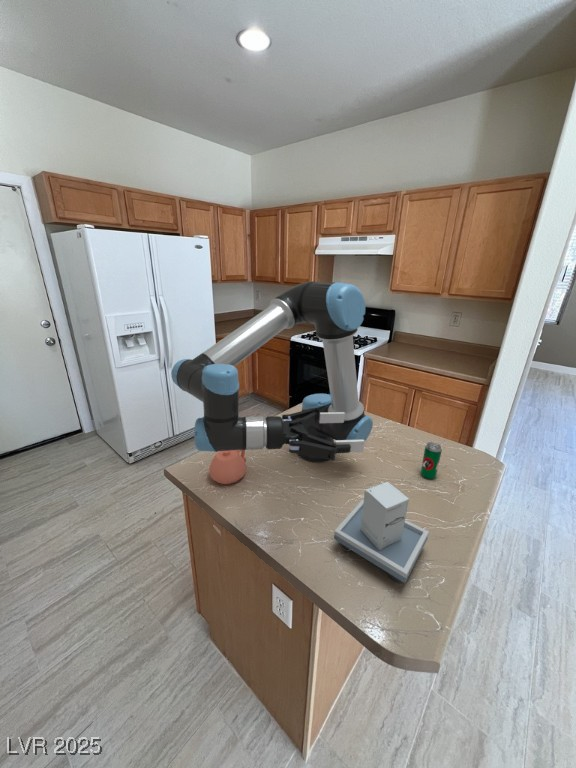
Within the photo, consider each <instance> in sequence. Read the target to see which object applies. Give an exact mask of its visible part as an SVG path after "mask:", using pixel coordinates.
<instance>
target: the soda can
mask: <svg viewBox="0 0 576 768" xmlns="http://www.w3.org/2000/svg"><path fill="white" fill-rule="evenodd" d="M442 452H443V451H442V446H441V444H439V443H438V442H434V441H429V442H427V443H426V444H425V447H424V451H423V457H422V463H421V466H420V467H421V468H420V472H419V473H420V475H421V477H423V478H424V479H427V480H434V479H436V477H437V475H438V469H439V466H440V461H441V456H442V455H441V454H442Z"/></svg>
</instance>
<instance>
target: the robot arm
mask: <svg viewBox="0 0 576 768" xmlns="http://www.w3.org/2000/svg"><path fill="white" fill-rule="evenodd" d="M365 315H366V302H365V298H364V296H363V292H362V291H361V290H360V288H358V287H357V286H356V285H354V284H350V283H345V282H341V281H339V282H338V281H337V282H333V281H332V282H330V281H325V282H324V281H305V282H302V283H299V284H297V285H295V286H292V287H290V288H289V289H287V290H286V291H284V292H282V293H280V294H279V295H277V296H276V297H274V298H273V299H271V301H270V303H269V306H268V307H267V308H265V309H264V310H262V311H261V312H259V313H258V314H256V315H255V316H253V317H252V318H251V319H249V320H248V321H246V322H245V323H243V324H242V325H241V326H239V327H238V328H237V329H235V330H233V331H232V332H231V333H229V334H228V335H226V336H225V337H223V338H222V339H220V340H219V341H218V342H216V343H214V344H213V345H212V346H210V347H209V348H207V349H206V350H204V351H203V352H201V353H200V354H199V355H197V356H195V358H193V359H190V358H184V359H180V360H178V361H176V363H175V364H174V365H173V367H172V369H171V375H170V376H171V380H172V382H173V383H174V384H175V385H176V387H178V388H179V389H181V390H182V391H183V392H186V393H188V394H189V395H191V396H193V398H194V397H195V398H196V399H197V400H199V401H201V402H202V403H203V405H202V406H203V417H198V418H196V420H195V422H194V434H193V435H194V446H195V448H196V449H197V451H198V452H213V453H214V452H215V453H218V452H219V451H230V450H245V451H246V450H248V451H249V450H250V451H253V450H254V451H255V450H256V451H257V450H263V449H265V448H266V450H281V449H282V448H283V446H284V445H289V447H288V448H289V450H288V452H289V453H291V454H296V455H298V456H299V458H301V459H302V460H304V461H306V462H309V463H315V464H316V463H319V464H321V463H326V462H329V461H335V460H336V459H335V458H336V455H337V454H348V453H349V454H350V453H363V452H364V446H365V442H366V441H367V439H368V438H369V436H370V434H371V432H372V429H373V425H374V422H373V418H371V417H370V416H369V415H365V406H364V404H363V403H362V402H361V401H360V400H359V392H358V381H357V380H358V379H357V369H356V359H355V346H354V335H356V333H357V332H358V330H359V329H358V328H359V327H360V326H361V325H362V324H363V321H364V320H365V318H364V316H365ZM302 323H303V324H305V323H307V324H312V325H314V328H315V335H316V338H318V339H319V340H321V341H322V345H323V352H324V360H325V367H326V372H327V374H326V375H327V379H328V380H327V381H328V387H329V393H328V394H327V393H314V394H310V395H307V396H305V397H304V398H303V400H302V405H301V410H300V411H297V412H294V413H293V412H292V413H288V414H287V413H285V414H282V415H281V416H279V415H278V416H277V415H275V416H272V415H270V416H266V417H265V418H264V417H263V416H239V413H240V412H239V399H240V397H239V395H240V394H239V393H240V392H239V391H240V382H239V371H238V368H236V366H238V364H240V363H241V362H243V360H245V359H246V358H248V357H249V356H250V355H252V354H253V353H255V352H256V351H257V350H258V349H260V348H261V347H262V346H264V345H265V344H267V343H268V342H269V341H270V340H272V339H273V338H274V337H276V336H277V335H278V334H279V333H281V332H282V331H284V330H285V329H287V330H290V329H292V328H293V327H294V326H296V325H299V324H302Z"/></svg>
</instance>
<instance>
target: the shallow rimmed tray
mask: <svg viewBox="0 0 576 768" xmlns="http://www.w3.org/2000/svg"><path fill="white" fill-rule="evenodd" d="M363 503H364V498H362V499H361V500H360V501H359V502H358V504H357V505H356V506H355V507H354V508H353V509H352V511H351V512H350V513H349V514H348V515H347V516H346V517H345V519H344V520H343V521H342V522H341V523H340V524H339V525H338V526H337V528H335V530H334V533H333V535H334V536H333V540H335V541H336V542H338V543H339V544H340V547H341V548H342V549H343V550H344V551H346V552H349V551H350V550H351V551H353V552H354V553H356V554H357V555H359V556H361V557H362V558H364V559H365V560H367V561H368V562H370V563H372V564H373V565H375V566H377V567H378V568H380V569H382V570H383V571H384V572H386V573H388V575H389V577H390V579H391V580H392V581H393V582H395V583H398V584H401V583H404V584H406V582H407V580H408V578H409V576H410V574H411V572H412V570H413V568H414V566H415V564H416V562H417V561H418V558H419V556H420V554H421V552H423V549H424V547H425V545H426V543H427V541H428V538H429V534H430V531H429V530H427V529H424V528H422V527H421V526H418V525H416V524H415V523H413V522H411V521H410V520H409V521H408V520H406V519H405V523H404V529H403V534H402V539H401V540H399V541H397V542H395V543H392V544H390V545H388V546H386V547H384V548H383V549H381V550H379V549H378V548H377V547H376V546H375V545H374V544H373V543H372V542H371V541H370V540H369V538H368V537H367V536H366V535H365V534H364V533H363V532H362V531H361V530H360V527H361V519H362V511H363Z"/></svg>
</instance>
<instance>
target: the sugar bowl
mask: <svg viewBox="0 0 576 768" xmlns="http://www.w3.org/2000/svg"><path fill="white" fill-rule="evenodd" d="M245 451H246V450H230V451H218V452H216V454H214V456H213V458H212V460H211V462H210V465H209V469H208V470H209V473H208V474H209V476H210V478H211V479H212V481H215V482H217V483H219V484H222V485H231V484H234V483H236V482H238V481H240V479H242V478H243V477H244V476H245V474H246V473H247V465H246V462H247V458H246V457H245V453H246V452H245ZM240 452H241V454H240Z"/></svg>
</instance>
